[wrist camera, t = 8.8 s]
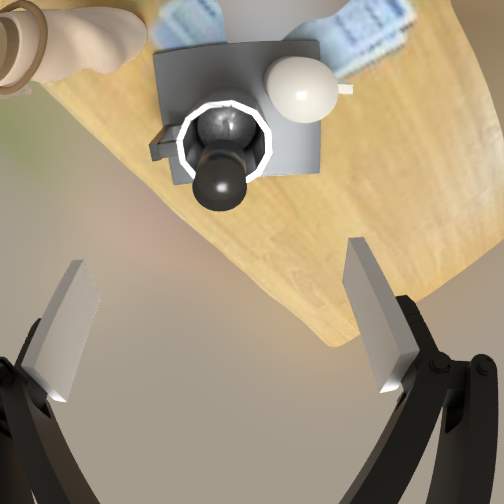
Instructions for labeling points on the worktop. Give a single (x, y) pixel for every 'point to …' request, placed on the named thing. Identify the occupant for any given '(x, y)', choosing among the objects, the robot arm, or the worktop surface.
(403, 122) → the worktop surface
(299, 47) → the slate board
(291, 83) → the cream mug
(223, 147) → the plunger
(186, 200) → the worktop surface
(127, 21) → the water bottle
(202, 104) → the press carafe
